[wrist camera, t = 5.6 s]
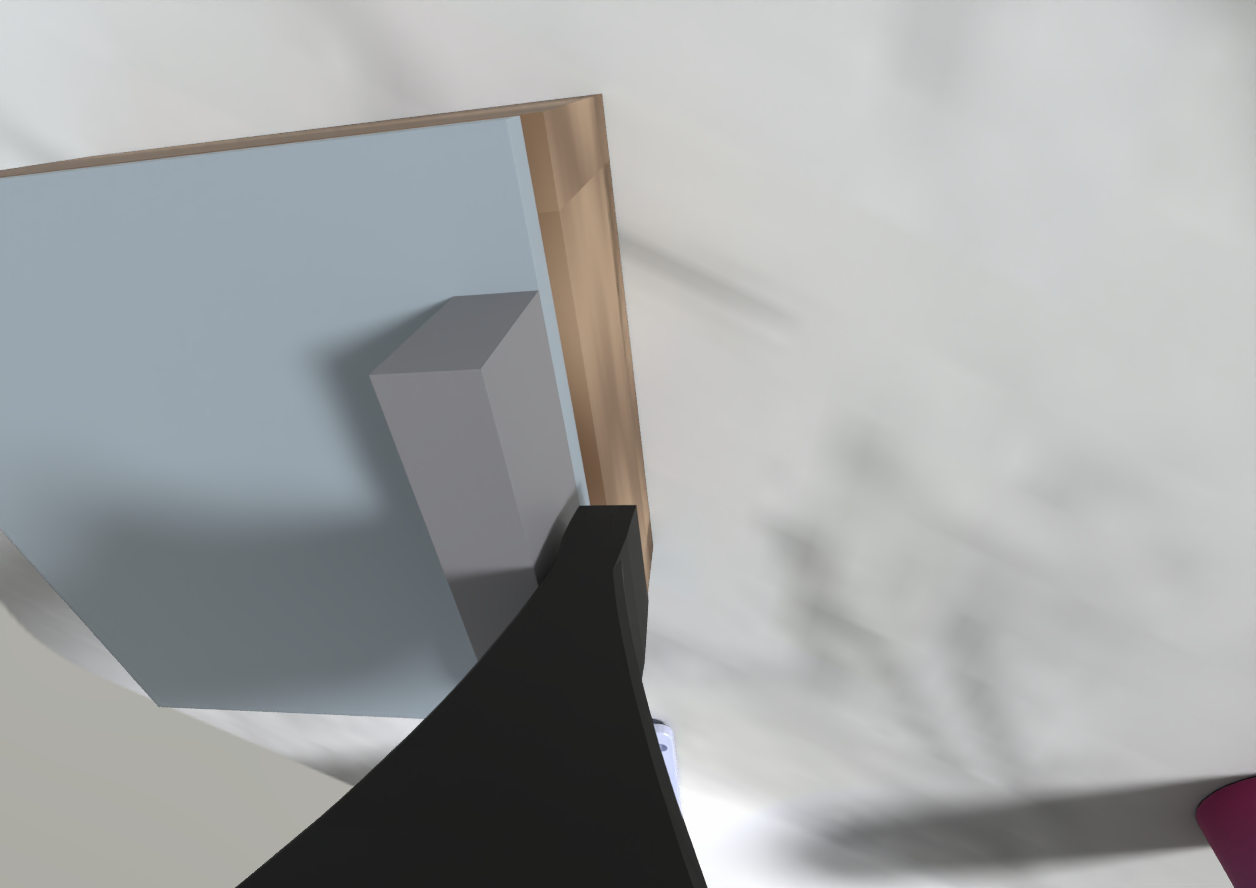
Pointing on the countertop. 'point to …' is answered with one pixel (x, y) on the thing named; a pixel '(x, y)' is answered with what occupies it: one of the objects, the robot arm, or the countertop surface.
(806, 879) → the countertop surface
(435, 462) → the lid
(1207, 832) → the cup
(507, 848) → the robot arm
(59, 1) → the countertop surface
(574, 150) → the walnut box
